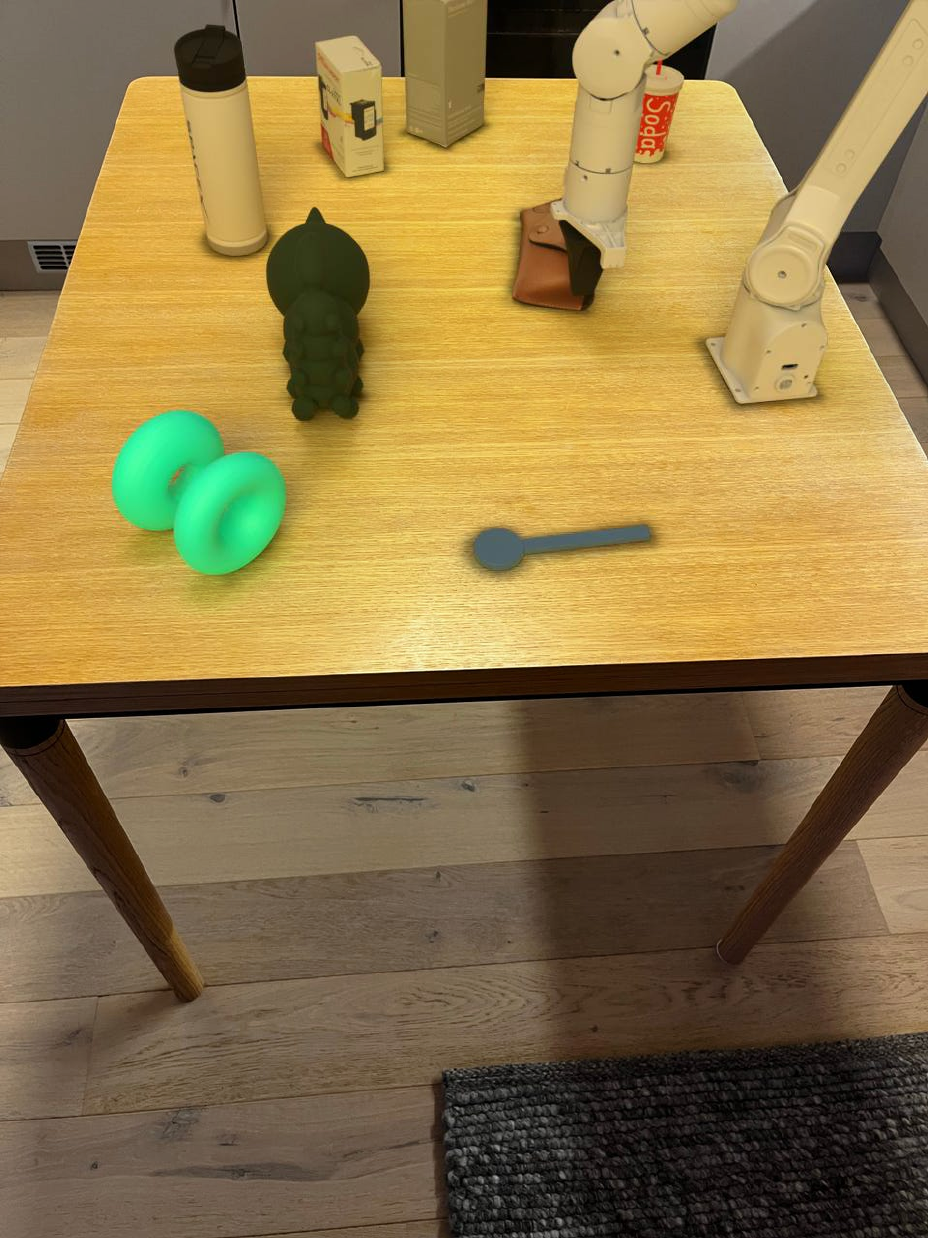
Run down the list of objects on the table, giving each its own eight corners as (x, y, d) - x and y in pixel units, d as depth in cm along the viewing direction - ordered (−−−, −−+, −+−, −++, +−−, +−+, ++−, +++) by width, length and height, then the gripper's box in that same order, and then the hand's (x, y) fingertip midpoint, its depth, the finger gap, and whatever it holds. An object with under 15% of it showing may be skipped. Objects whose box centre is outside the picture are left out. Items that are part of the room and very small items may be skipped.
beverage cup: (613, 160, 120) (633, 35, 109) (623, 137, 124) (643, 13, 113) (664, 170, 119) (689, 43, 108) (672, 146, 123) (697, 22, 112)
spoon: (654, 553, 81) (656, 547, 80) (478, 573, 79) (479, 567, 78) (640, 517, 83) (642, 511, 83) (469, 536, 81) (469, 530, 81)
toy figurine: (382, 463, 89) (367, 278, 102) (377, 287, 73) (360, 96, 86) (275, 468, 88) (274, 281, 101) (245, 291, 72) (249, 97, 85)
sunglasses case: (516, 206, 112) (551, 158, 107) (566, 239, 115) (603, 194, 110) (509, 301, 101) (549, 252, 96) (565, 336, 103) (607, 289, 99)
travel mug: (274, 225, 109) (249, 26, 93) (260, 259, 105) (232, 56, 89) (217, 220, 109) (183, 20, 93) (201, 254, 105) (163, 51, 89)
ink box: (320, 144, 120) (312, 38, 111) (358, 137, 122) (353, 32, 112) (346, 178, 115) (339, 71, 106) (385, 171, 117) (382, 64, 108)
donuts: (215, 475, 85) (195, 380, 77) (300, 533, 81) (287, 439, 73) (120, 541, 80) (88, 446, 72) (206, 605, 76) (181, 513, 68)
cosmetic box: (446, 150, 120) (448, 4, 108) (399, 131, 123) (397, -13, 110) (487, 124, 125) (495, -18, 112) (442, 106, 127) (444, -35, 115)
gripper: (538, 120, 92) (526, 254, 103) (578, 203, 83) (560, 340, 94) (612, 116, 93) (592, 249, 104) (659, 198, 84) (632, 334, 95)
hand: (582, 292), depth 99 cm, fingers closed
